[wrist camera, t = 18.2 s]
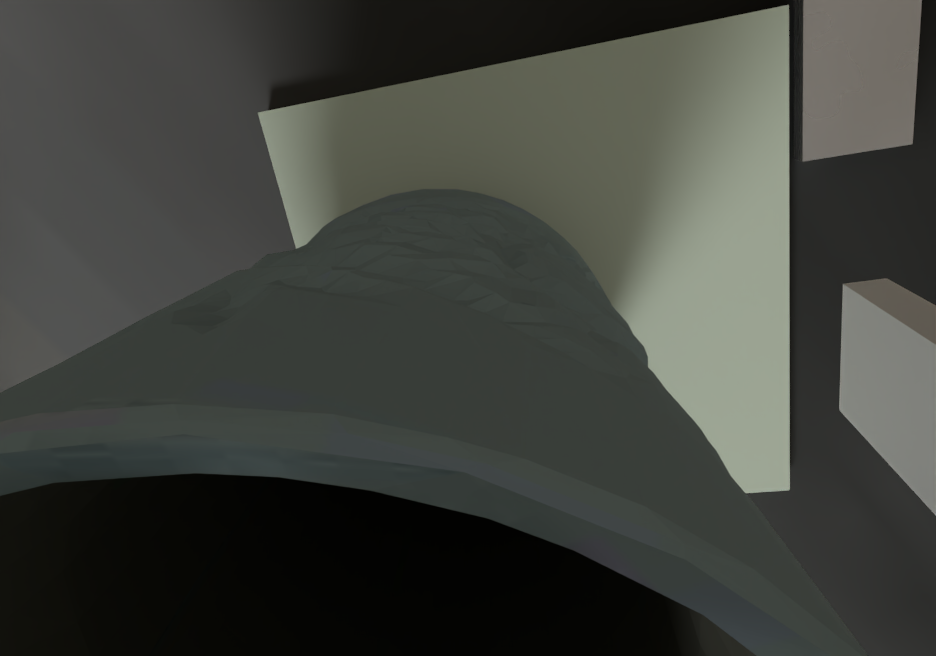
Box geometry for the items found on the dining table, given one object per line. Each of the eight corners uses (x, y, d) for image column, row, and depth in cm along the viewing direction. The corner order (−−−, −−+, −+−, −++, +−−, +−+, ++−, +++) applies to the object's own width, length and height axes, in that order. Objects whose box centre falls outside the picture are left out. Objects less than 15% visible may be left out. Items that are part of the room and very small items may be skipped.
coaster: (377, 507, 21) (372, 518, 21) (267, 111, 17) (257, 112, 16) (782, 478, 19) (789, 489, 18) (780, 7, 14) (788, 4, 14)
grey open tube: (639, 138, 14) (1197, 337, 3) (647, 513, 17) (898, 1293, 6) (208, 189, 15) (-735, 488, 4) (299, 532, 18) (-38, 1222, 7)
